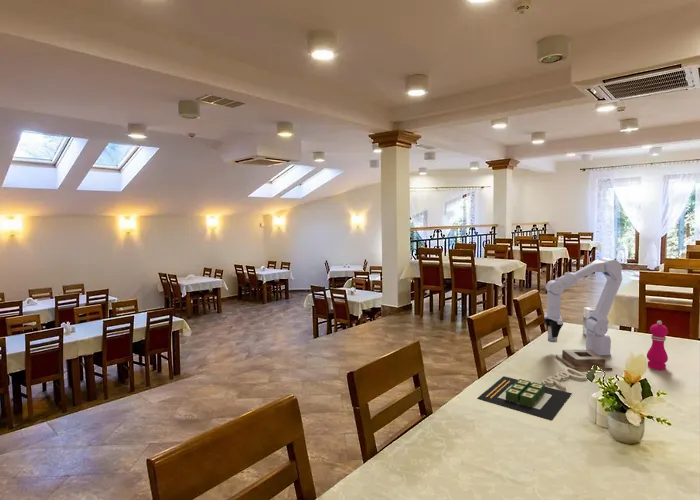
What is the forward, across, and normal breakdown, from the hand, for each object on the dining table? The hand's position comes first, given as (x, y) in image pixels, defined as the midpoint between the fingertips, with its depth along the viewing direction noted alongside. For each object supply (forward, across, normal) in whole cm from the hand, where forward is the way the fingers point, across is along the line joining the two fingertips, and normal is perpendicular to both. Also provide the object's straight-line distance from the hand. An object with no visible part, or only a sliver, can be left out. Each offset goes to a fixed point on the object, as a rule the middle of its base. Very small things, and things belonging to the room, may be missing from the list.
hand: (552, 335), depth 199 cm
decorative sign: (+9, +32, -9) cm, 34 cm away
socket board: (+8, +14, +7) cm, 18 cm away
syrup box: (+8, -25, +31) cm, 41 cm away
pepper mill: (+8, +19, +35) cm, 41 cm away
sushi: (+9, +46, -30) cm, 55 cm away
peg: (+3, 0, 0) cm, 3 cm away
